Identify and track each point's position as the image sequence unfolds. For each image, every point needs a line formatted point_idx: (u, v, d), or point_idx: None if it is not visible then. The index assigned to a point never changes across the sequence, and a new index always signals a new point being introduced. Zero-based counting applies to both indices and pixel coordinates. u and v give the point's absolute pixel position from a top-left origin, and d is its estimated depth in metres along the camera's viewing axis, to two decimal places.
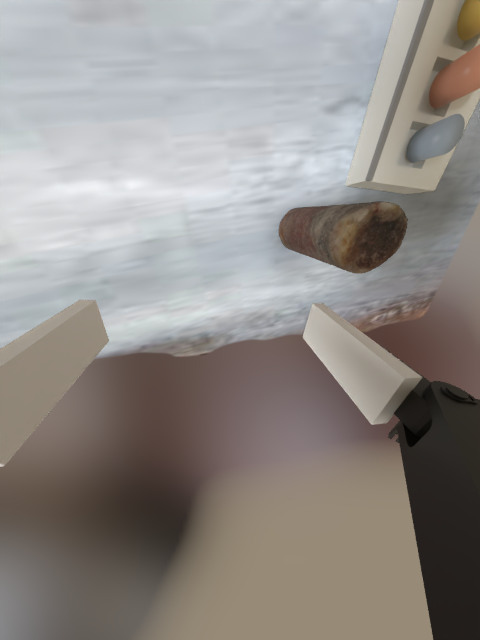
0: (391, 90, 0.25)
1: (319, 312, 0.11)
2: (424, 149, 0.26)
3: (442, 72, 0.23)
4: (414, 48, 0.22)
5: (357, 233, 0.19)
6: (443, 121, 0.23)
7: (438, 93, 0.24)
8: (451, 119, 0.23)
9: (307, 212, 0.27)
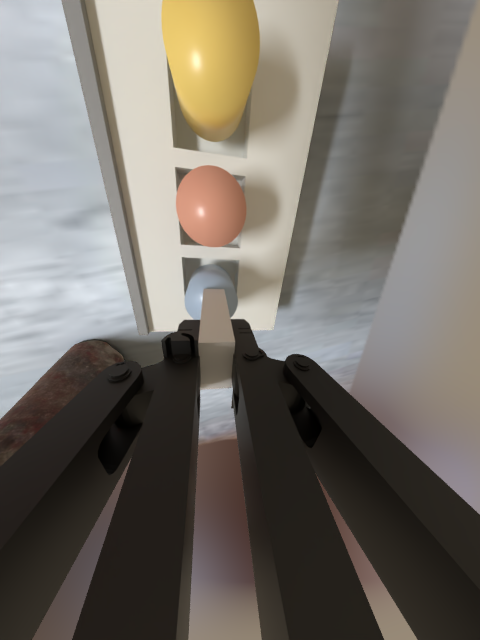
0: None
1: (214, 296, 0.12)
2: None
3: None
4: (104, 161, 0.11)
5: None
6: (189, 286, 0.13)
7: None
8: (200, 284, 0.13)
9: (14, 405, 0.16)
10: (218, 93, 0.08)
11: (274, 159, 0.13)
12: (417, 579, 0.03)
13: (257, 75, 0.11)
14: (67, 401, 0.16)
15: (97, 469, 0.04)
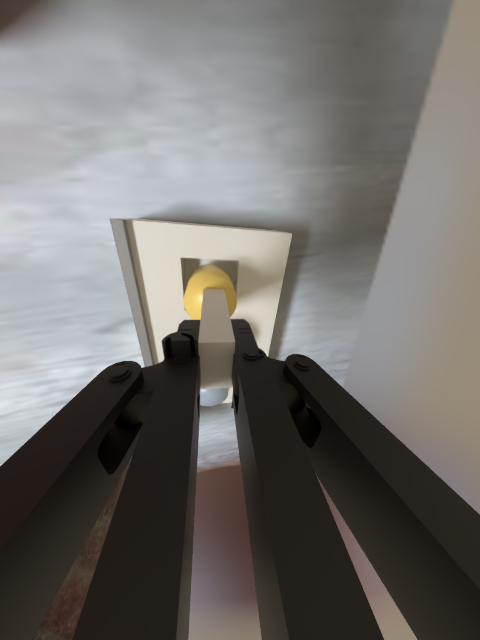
0: None
1: (214, 296, 0.12)
2: None
3: None
4: (139, 326, 0.17)
5: None
6: None
7: None
8: None
9: None
10: None
11: (254, 309, 0.19)
12: (417, 579, 0.03)
13: (240, 272, 0.17)
14: None
15: (97, 469, 0.04)
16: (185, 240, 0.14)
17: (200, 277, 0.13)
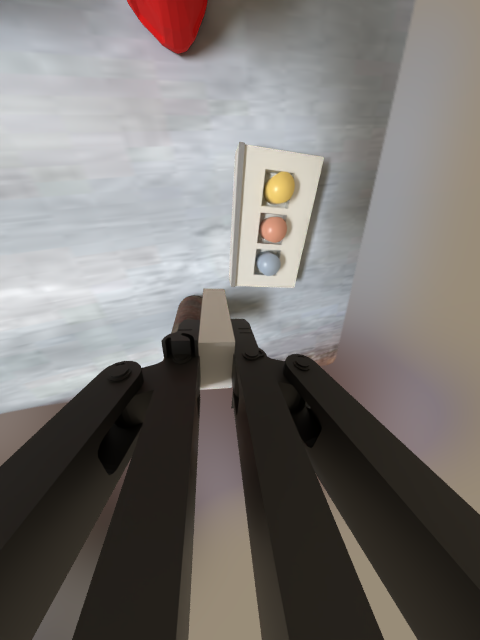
0: (233, 231, 0.33)
1: (214, 296, 0.12)
2: (260, 270, 0.35)
3: (261, 224, 0.33)
4: (237, 212, 0.30)
5: None
6: (262, 258, 0.33)
7: (262, 236, 0.34)
8: (267, 257, 0.33)
9: (178, 316, 0.35)
10: (282, 198, 0.29)
11: (299, 208, 0.32)
12: (417, 579, 0.03)
13: (294, 181, 0.30)
14: None
15: (97, 469, 0.04)
16: (270, 158, 0.28)
17: (279, 172, 0.27)
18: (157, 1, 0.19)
